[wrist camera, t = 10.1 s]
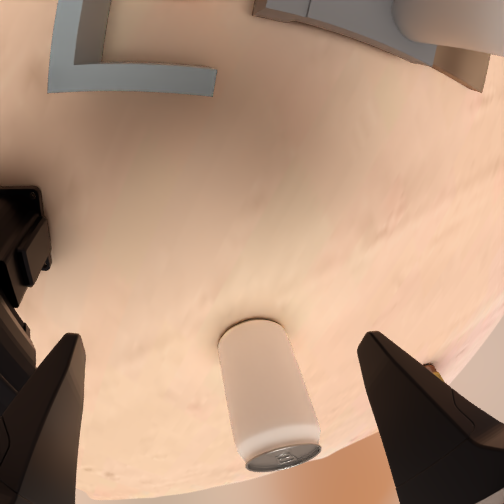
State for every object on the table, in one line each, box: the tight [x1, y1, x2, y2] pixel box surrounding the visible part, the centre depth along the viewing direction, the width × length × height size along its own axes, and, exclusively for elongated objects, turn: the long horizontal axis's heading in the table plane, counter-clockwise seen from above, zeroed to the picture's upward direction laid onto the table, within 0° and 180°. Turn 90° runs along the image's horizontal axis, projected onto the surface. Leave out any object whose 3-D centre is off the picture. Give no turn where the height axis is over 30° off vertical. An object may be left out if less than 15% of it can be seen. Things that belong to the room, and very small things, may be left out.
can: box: [218, 319, 321, 472], centre depth 24 cm, size 6×6×12 cm
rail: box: [430, 45, 490, 93], centre depth 16 cm, size 10×4×1 cm, turn 80°
